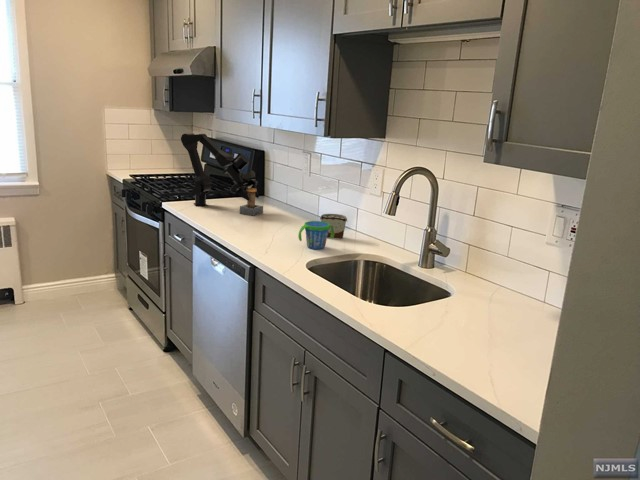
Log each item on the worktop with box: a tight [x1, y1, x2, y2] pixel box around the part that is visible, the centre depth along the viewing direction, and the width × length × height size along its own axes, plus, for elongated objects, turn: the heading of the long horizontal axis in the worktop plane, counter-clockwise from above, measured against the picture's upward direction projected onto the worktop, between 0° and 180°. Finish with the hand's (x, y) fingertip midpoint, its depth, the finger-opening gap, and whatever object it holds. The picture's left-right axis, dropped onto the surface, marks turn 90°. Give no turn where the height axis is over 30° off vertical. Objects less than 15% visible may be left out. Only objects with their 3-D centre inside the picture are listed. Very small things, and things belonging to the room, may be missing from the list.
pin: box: [245, 188, 258, 208], centre depth 263 cm, size 5×5×13 cm
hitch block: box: [239, 203, 264, 217], centre depth 264 cm, size 9×9×4 cm
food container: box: [319, 213, 348, 240], centre depth 228 cm, size 12×6×10 cm, turn 84°
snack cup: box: [298, 220, 335, 250], centre depth 209 cm, size 16×10×10 cm
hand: (253, 198), depth 262 cm, fingers open, 9 cm apart
